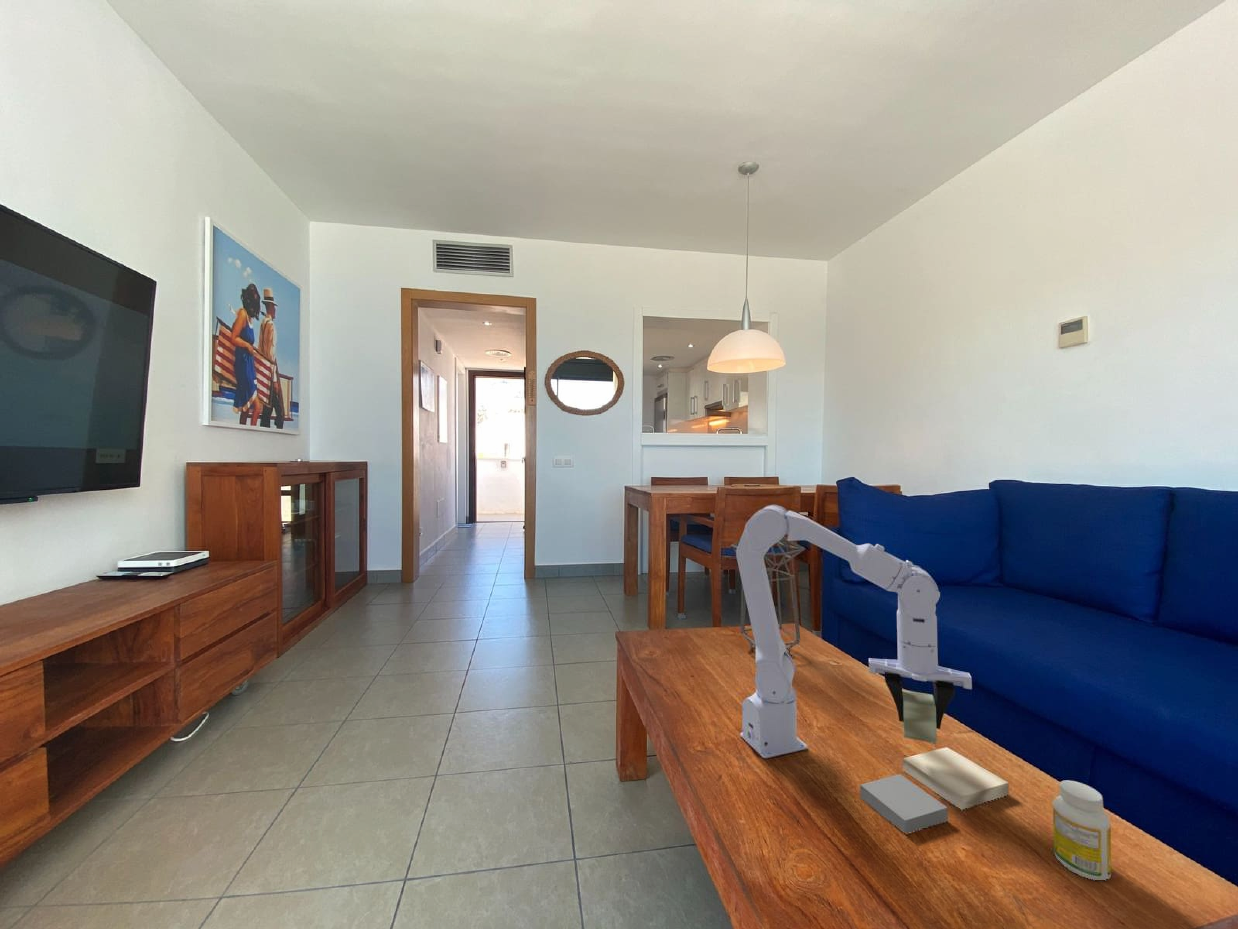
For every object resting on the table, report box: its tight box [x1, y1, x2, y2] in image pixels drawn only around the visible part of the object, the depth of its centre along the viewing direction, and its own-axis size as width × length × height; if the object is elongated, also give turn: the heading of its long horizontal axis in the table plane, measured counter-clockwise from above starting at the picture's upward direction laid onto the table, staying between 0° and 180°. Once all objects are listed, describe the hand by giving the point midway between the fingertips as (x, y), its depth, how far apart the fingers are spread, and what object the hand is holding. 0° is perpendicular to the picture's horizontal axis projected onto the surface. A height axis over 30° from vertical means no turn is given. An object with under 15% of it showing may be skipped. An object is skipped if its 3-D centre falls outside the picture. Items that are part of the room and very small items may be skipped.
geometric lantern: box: [729, 535, 806, 657], centre depth 133 cm, size 16×16×35 cm
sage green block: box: [902, 689, 938, 745], centre depth 80 cm, size 4×4×6 cm
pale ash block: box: [902, 747, 1010, 811], centre depth 78 cm, size 10×10×2 cm
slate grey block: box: [859, 773, 949, 835], centre depth 72 cm, size 8×8×2 cm
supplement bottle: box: [1052, 779, 1112, 881], centre depth 62 cm, size 5×5×10 cm
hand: (918, 722), depth 80 cm, fingers closed on sage green block, 4 cm apart
